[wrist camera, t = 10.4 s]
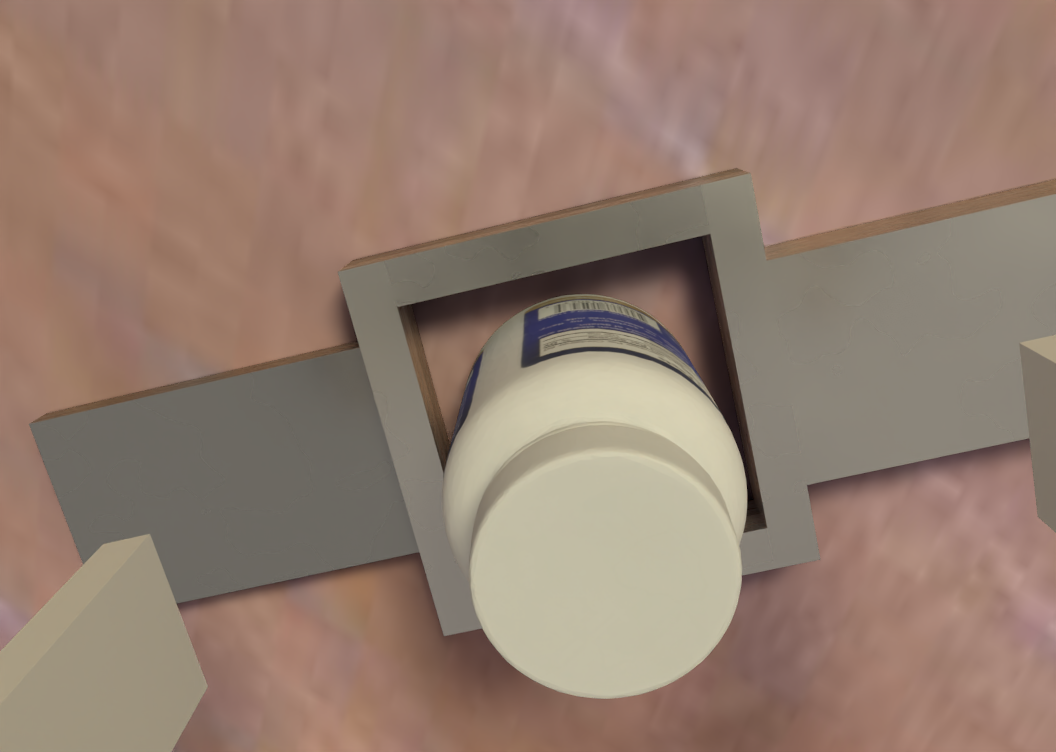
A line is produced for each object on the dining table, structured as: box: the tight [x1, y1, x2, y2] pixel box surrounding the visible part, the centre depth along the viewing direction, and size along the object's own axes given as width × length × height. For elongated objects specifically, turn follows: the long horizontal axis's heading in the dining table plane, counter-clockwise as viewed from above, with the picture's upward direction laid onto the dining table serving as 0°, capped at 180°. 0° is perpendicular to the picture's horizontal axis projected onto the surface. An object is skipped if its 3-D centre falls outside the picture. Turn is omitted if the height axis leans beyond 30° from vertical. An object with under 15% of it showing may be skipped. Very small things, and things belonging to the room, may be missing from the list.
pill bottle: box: [442, 294, 747, 699], centre depth 19 cm, size 5×5×9 cm
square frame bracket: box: [29, 168, 1056, 636], centre depth 22 cm, size 25×9×2 cm, turn 103°
